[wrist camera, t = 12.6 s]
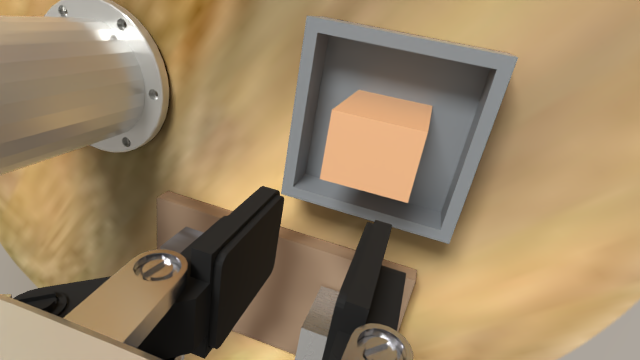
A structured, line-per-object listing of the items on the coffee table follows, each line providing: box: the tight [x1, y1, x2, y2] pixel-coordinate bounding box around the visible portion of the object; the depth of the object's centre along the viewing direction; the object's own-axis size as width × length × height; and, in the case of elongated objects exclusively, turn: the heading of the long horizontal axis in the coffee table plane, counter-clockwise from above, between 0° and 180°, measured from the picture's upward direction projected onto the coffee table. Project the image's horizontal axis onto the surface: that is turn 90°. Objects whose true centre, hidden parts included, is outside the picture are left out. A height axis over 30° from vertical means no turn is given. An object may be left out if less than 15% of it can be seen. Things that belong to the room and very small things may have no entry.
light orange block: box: [320, 90, 432, 203], centre depth 24 cm, size 5×4×7 cm
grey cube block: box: [295, 286, 339, 360], centre depth 31 cm, size 6×6×5 cm
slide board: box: [157, 191, 417, 355], centre depth 34 cm, size 23×12×5 cm, turn 79°
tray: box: [281, 16, 518, 244], centre depth 26 cm, size 12×12×4 cm
